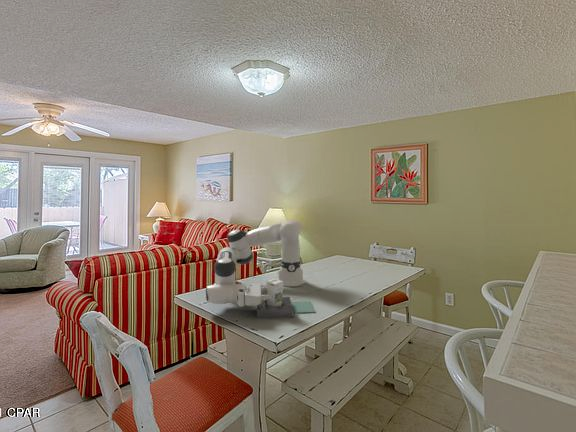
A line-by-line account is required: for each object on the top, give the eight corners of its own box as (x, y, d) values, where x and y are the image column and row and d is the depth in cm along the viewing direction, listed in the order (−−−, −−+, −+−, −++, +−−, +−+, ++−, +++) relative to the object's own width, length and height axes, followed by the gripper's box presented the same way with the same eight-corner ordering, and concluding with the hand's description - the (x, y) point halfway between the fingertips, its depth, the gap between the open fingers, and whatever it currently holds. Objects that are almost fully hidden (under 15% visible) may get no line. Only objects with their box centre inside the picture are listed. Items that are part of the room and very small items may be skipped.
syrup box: (273, 308, 148) (273, 278, 147) (282, 311, 144) (283, 280, 143) (265, 311, 143) (265, 281, 142) (274, 314, 140) (275, 283, 138)
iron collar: (257, 305, 151) (257, 297, 151) (289, 304, 152) (289, 296, 152) (256, 318, 135) (256, 309, 135) (292, 317, 136) (293, 308, 136)
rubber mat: (290, 302, 155) (290, 301, 155) (310, 302, 156) (310, 301, 156) (293, 313, 141) (293, 312, 141) (315, 312, 142) (315, 311, 142)
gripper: (242, 293, 152) (270, 292, 153) (239, 308, 131) (271, 307, 133) (242, 280, 151) (270, 280, 153) (239, 294, 131) (272, 293, 132)
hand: (271, 293), depth 143 cm, fingers open, 8 cm apart
